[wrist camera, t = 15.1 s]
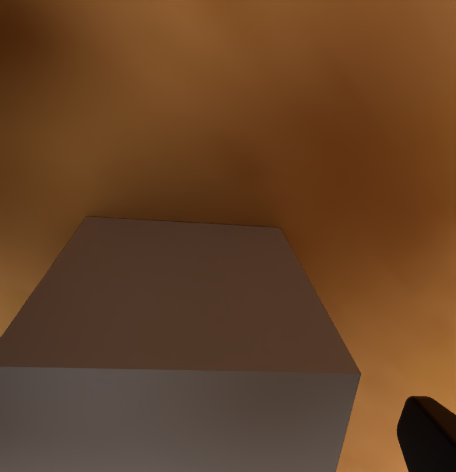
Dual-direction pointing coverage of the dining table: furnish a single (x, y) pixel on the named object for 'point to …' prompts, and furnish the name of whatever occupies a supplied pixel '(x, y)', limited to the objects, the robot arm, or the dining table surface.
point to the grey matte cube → (174, 356)
